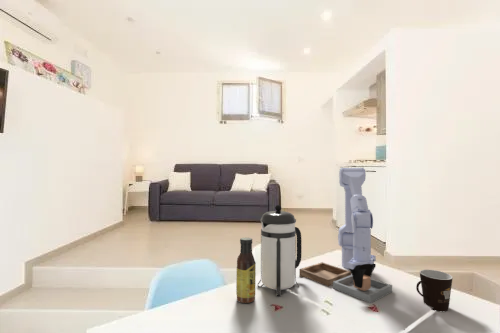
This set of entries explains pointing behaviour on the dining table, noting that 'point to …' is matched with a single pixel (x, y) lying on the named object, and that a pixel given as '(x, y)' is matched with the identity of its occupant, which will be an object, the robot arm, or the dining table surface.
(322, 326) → the dining table surface
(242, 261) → the sauce bottle
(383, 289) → the grey bin
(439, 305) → the coffee mug
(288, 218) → the coffee press
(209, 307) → the dining table surface
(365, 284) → the terracotta block
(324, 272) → the walnut crate
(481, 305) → the dining table surface
